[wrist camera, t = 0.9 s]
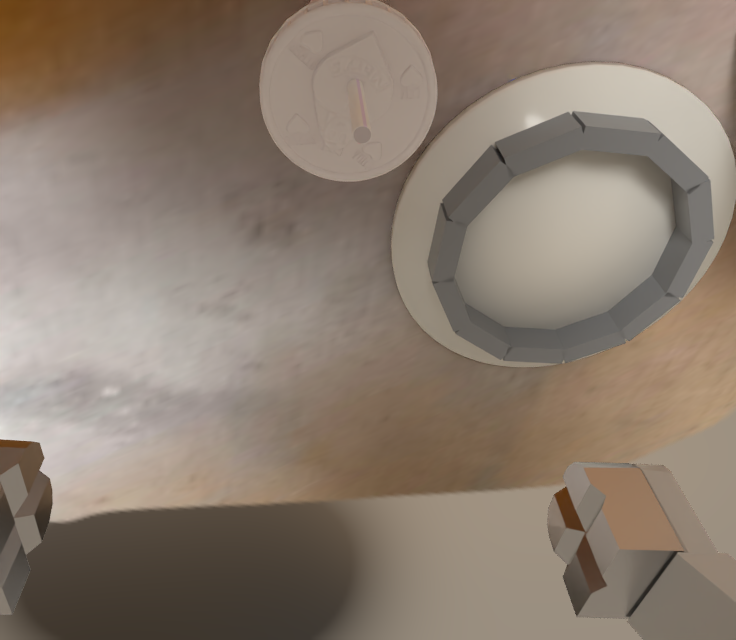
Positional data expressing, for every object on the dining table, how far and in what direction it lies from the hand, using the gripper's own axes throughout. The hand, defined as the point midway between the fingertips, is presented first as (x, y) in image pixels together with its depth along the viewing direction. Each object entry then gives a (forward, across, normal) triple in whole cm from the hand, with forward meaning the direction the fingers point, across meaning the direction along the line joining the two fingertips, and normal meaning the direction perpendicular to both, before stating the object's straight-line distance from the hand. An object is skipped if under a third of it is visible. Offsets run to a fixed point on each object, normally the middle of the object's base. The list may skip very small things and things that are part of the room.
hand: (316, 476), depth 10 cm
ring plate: (+26, -15, +8) cm, 31 cm away
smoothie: (+26, -1, -1) cm, 26 cm away
